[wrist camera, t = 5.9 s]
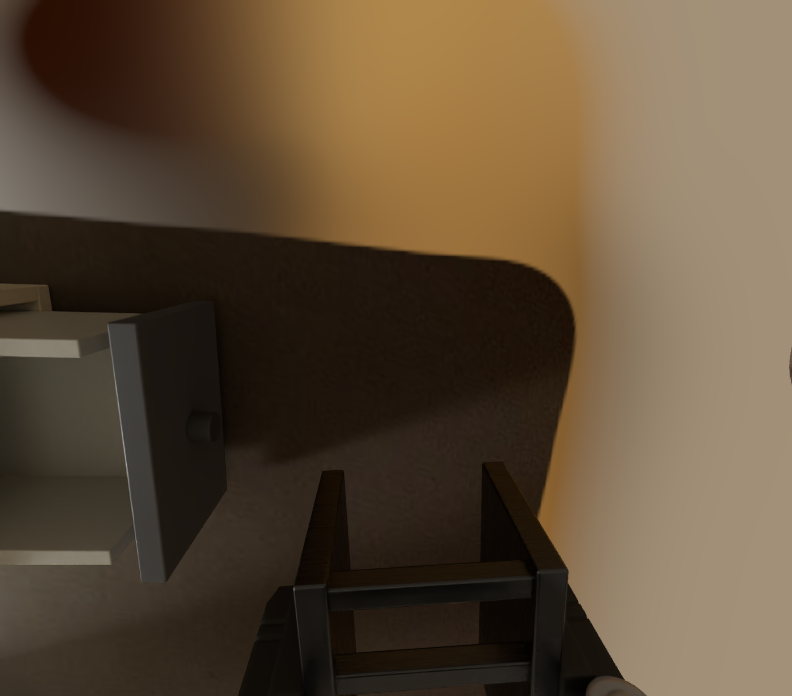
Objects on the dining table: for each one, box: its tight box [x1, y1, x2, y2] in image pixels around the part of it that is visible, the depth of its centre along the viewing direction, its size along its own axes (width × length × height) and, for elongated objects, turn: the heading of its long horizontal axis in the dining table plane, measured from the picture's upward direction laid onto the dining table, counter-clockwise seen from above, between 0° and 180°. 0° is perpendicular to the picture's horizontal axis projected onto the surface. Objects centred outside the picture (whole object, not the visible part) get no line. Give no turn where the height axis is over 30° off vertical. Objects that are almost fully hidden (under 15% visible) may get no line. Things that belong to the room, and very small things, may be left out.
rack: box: [293, 462, 568, 696], centre depth 10 cm, size 5×7×4 cm
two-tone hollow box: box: [0, 301, 227, 583], centre depth 21 cm, size 20×13×8 cm, turn 88°
